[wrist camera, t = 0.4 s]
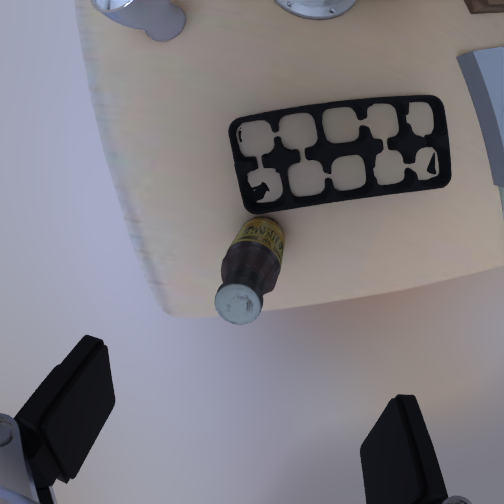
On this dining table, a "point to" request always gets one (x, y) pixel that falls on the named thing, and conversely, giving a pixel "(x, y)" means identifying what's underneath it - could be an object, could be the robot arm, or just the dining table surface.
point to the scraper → (485, 6)
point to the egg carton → (345, 154)
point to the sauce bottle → (250, 270)
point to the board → (488, 101)
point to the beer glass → (145, 16)
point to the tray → (502, 197)
